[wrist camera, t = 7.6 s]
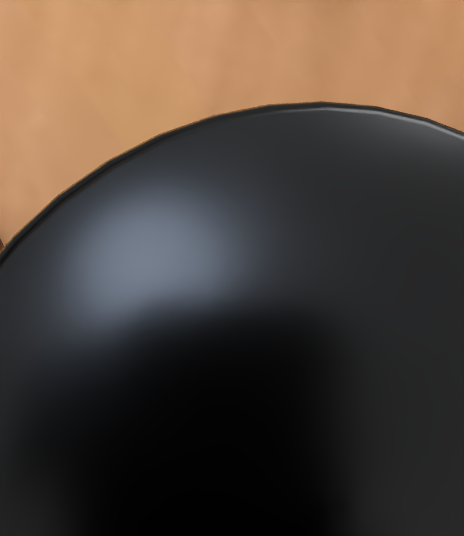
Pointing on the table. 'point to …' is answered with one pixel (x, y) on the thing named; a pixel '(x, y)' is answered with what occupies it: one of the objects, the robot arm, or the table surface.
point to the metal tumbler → (242, 334)
